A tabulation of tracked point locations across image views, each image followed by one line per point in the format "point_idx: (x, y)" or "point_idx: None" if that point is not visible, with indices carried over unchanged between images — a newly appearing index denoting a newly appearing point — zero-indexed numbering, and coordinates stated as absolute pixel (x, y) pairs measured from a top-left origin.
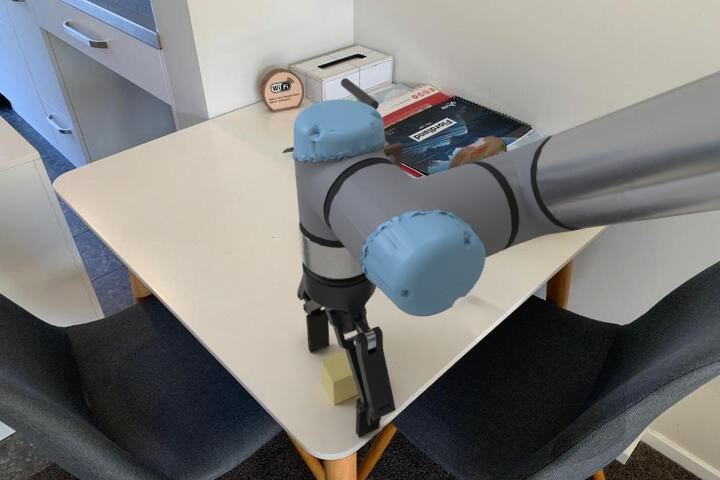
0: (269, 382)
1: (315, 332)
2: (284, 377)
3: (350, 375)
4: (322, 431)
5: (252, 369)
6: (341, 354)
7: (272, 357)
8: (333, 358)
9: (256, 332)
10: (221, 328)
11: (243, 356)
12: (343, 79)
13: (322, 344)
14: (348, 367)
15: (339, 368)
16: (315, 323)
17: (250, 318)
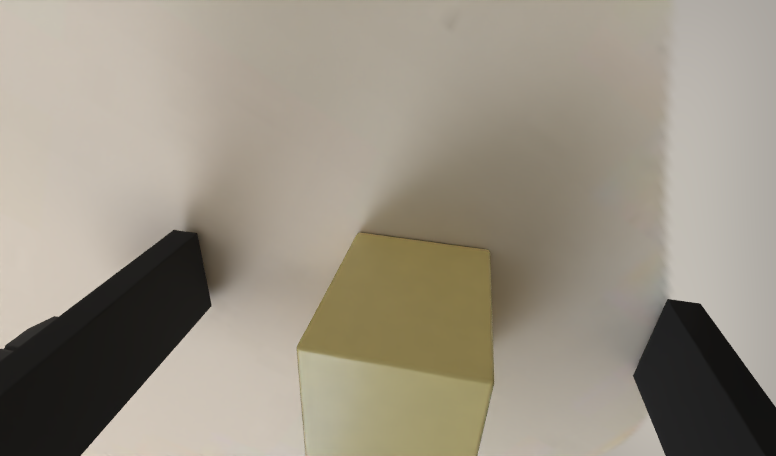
0: (278, 434)
1: (122, 374)
2: (278, 401)
3: (477, 443)
4: (534, 430)
5: (216, 439)
6: (315, 400)
7: (190, 387)
8: (322, 438)
9: None
10: None
11: (164, 432)
12: None
13: (186, 277)
14: (422, 426)
15: (400, 453)
16: (62, 433)
17: None
